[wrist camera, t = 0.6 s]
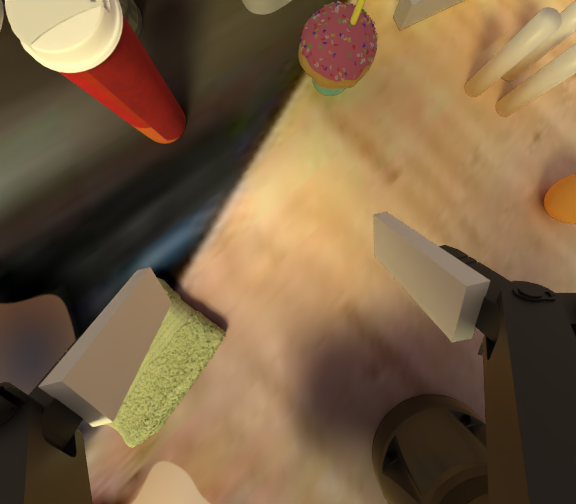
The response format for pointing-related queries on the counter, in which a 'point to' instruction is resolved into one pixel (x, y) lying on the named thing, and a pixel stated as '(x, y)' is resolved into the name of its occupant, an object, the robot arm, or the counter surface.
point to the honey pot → (1, 13)
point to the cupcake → (337, 46)
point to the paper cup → (99, 59)
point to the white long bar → (419, 10)
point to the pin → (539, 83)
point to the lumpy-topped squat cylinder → (264, 5)
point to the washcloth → (167, 369)
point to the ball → (562, 200)
